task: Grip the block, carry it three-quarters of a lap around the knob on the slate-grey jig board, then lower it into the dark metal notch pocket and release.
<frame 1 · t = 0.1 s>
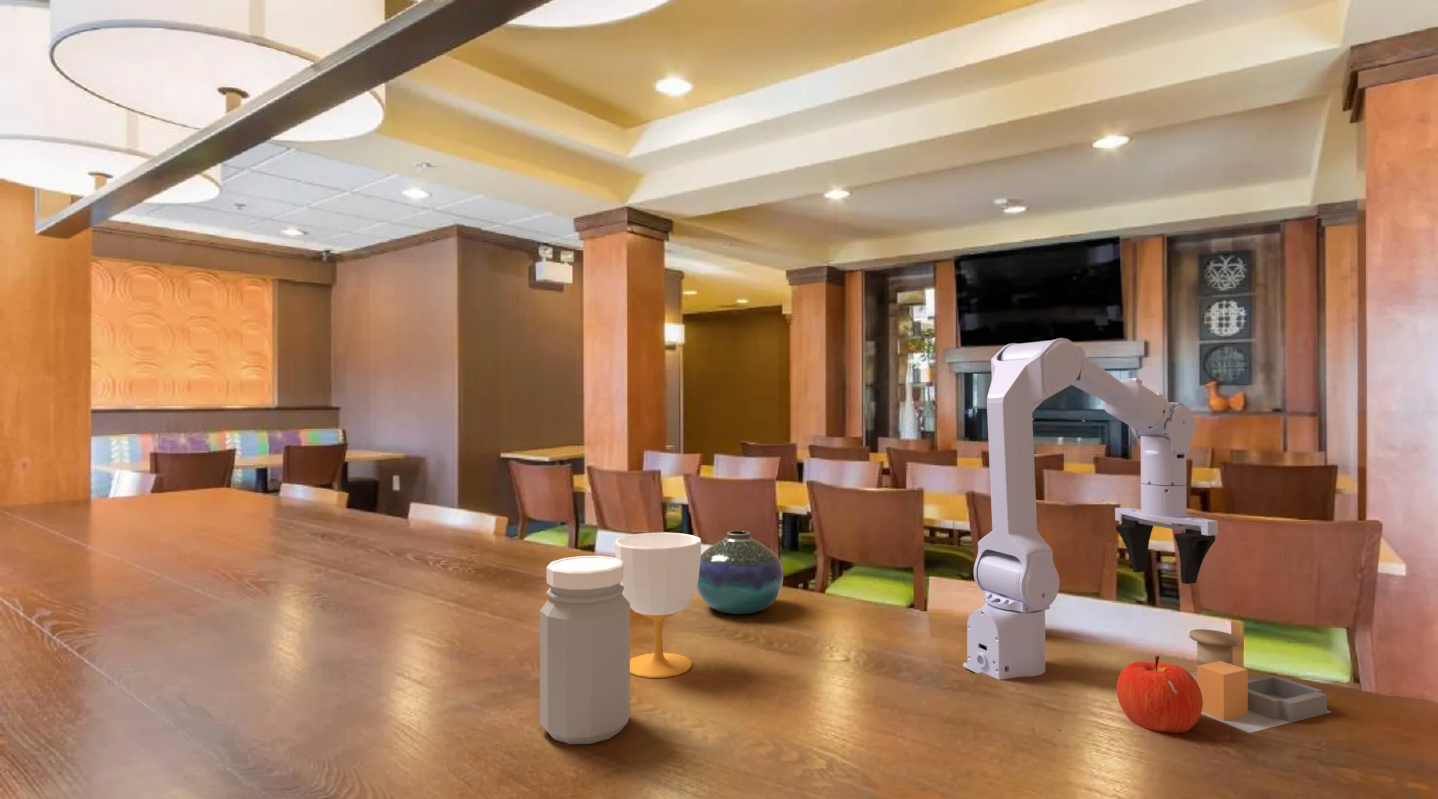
hand: (1163, 577, 107), 10 cm above the table, fingers open, 7 cm apart
knob: (1214, 692, 90), resting on jig
jar: (585, 729, 80), on the table
block: (1222, 712, 82), point 1 cm above the table, touching jig
apple: (1158, 730, 80), on the table
jig: (1226, 704, 86), on the table
cup: (658, 667, 99), on the table
vase: (738, 610, 126), on the table
beverage can: (1007, 632, 114), on the table
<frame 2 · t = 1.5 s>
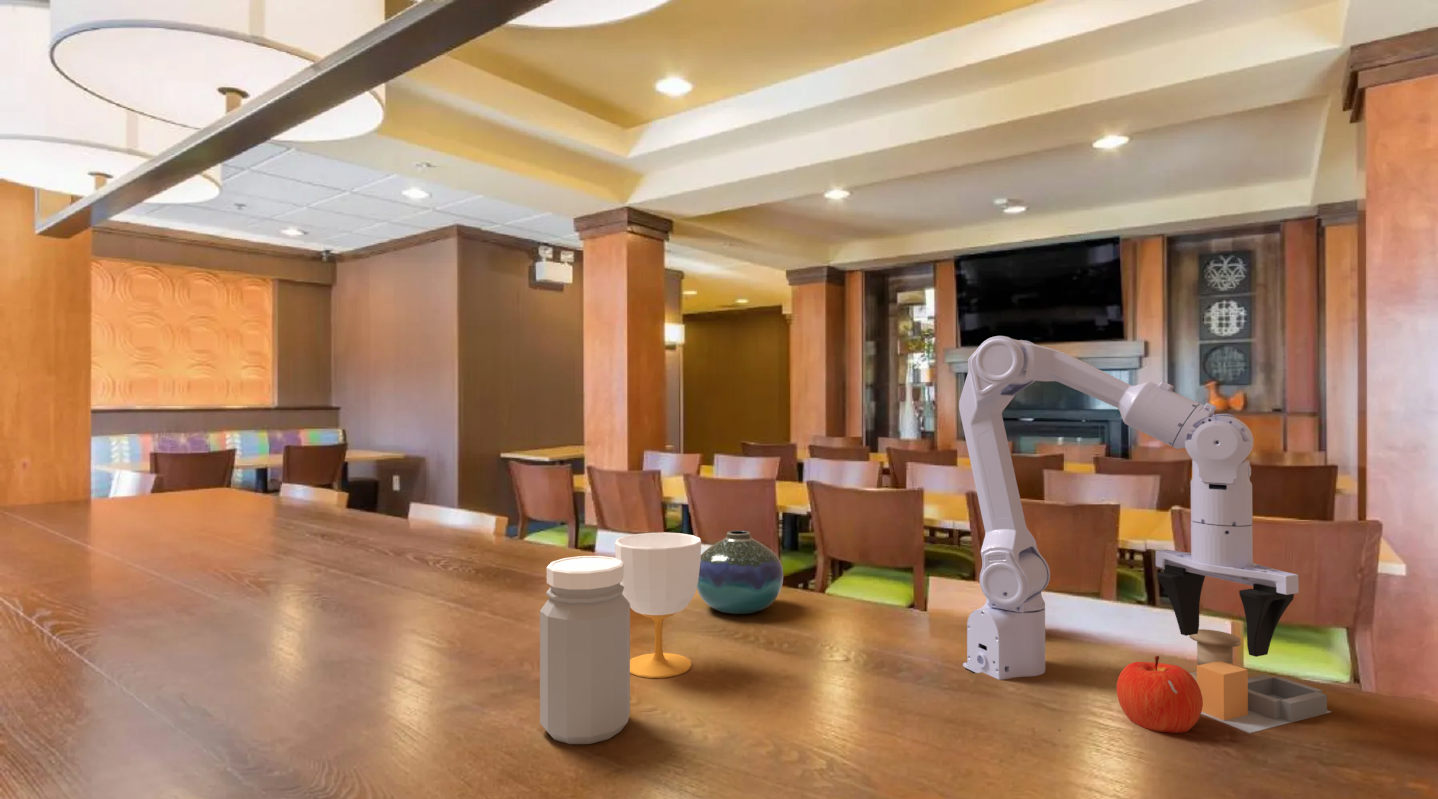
hand: (1222, 643, 82), 8 cm above the table, fingers open, 7 cm apart
nothing on the table moved.
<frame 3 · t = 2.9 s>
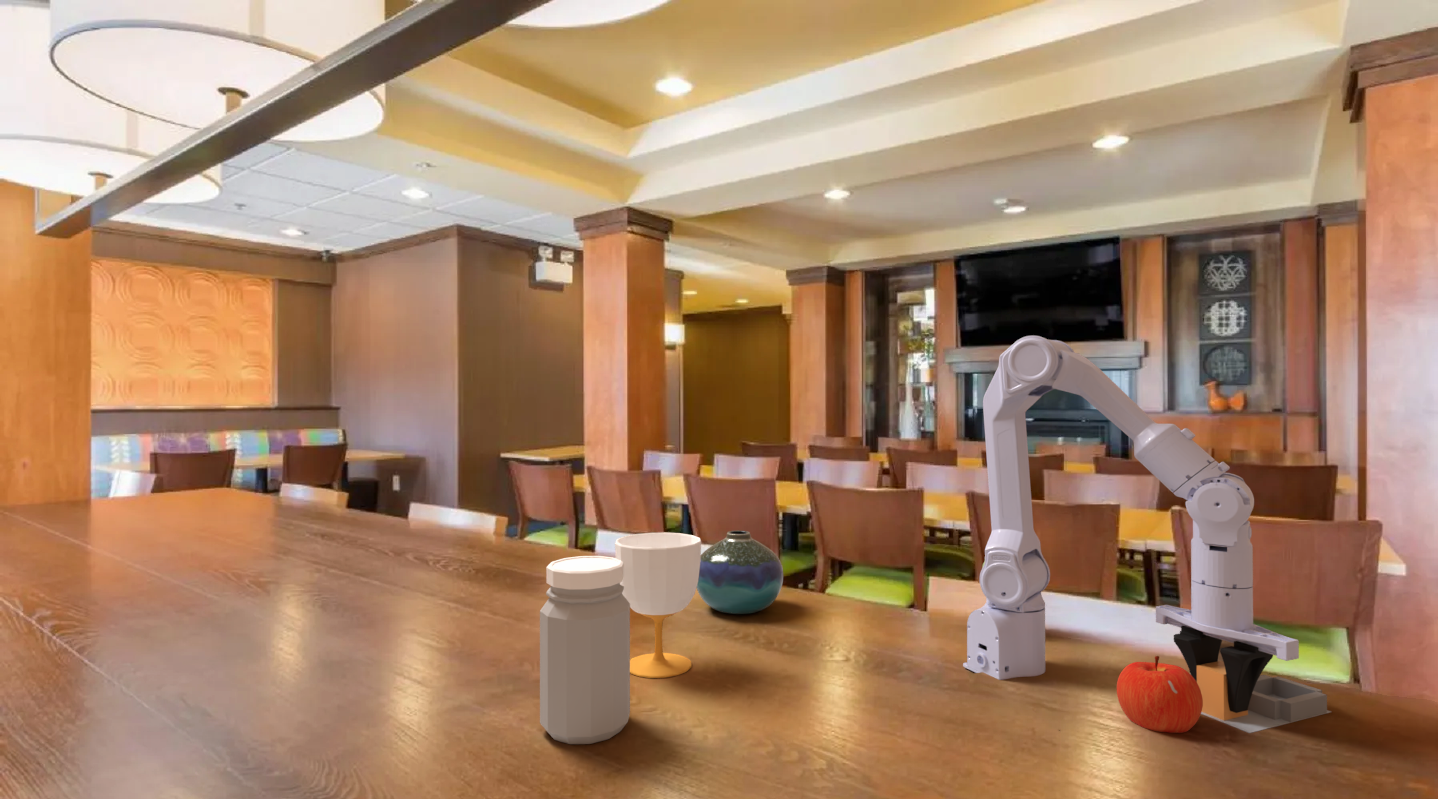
hand: (1222, 704, 82), 2 cm above the table, fingers closed on block, 3 cm apart
block: (1222, 712, 82), point 1 cm above the table, touching gripper, jig
everything else where it was.
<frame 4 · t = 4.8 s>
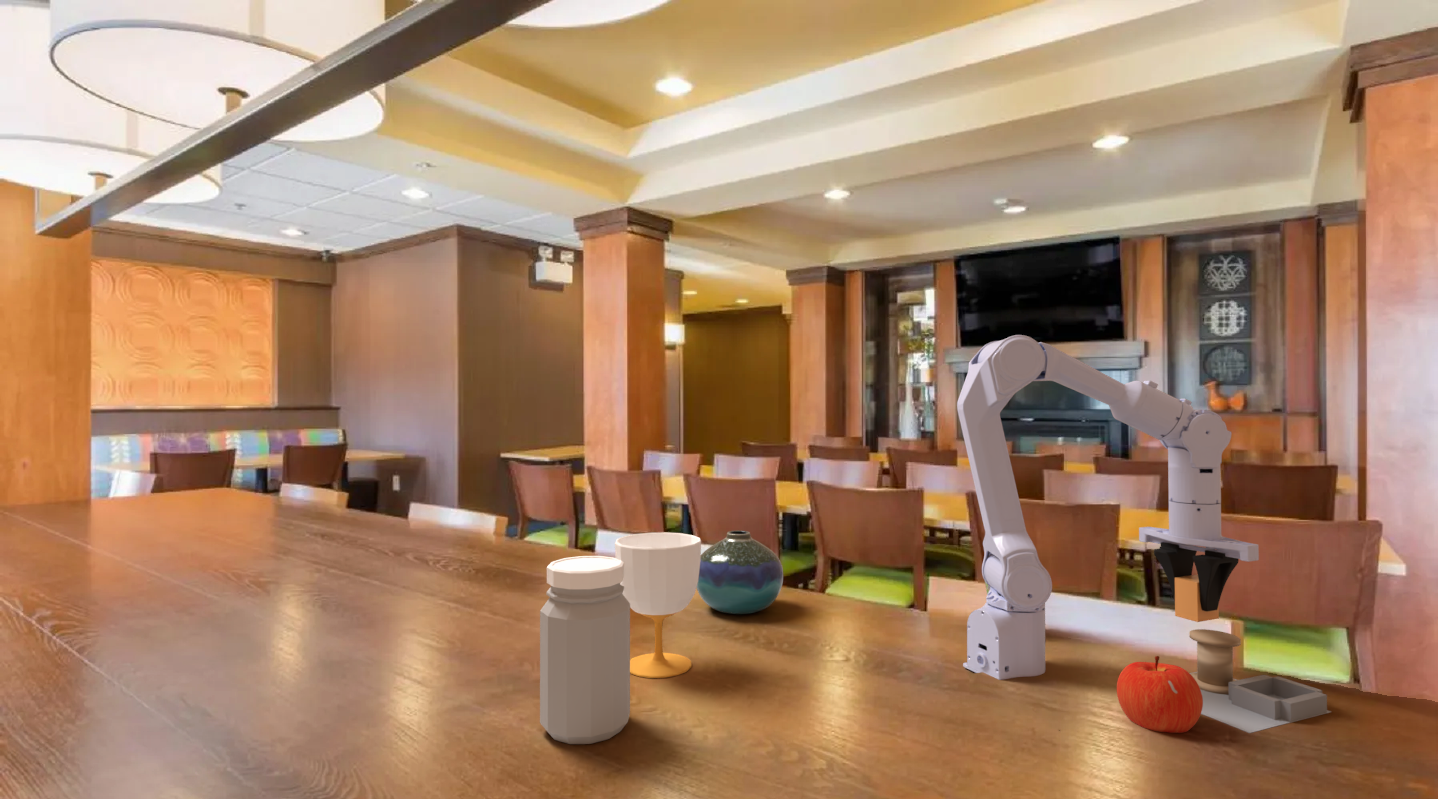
hand: (1195, 606, 95), 9 cm above the table, fingers closed on block, 3 cm apart
block: (1196, 617, 95), point 8 cm above the table, touching gripper
everything else where it was.
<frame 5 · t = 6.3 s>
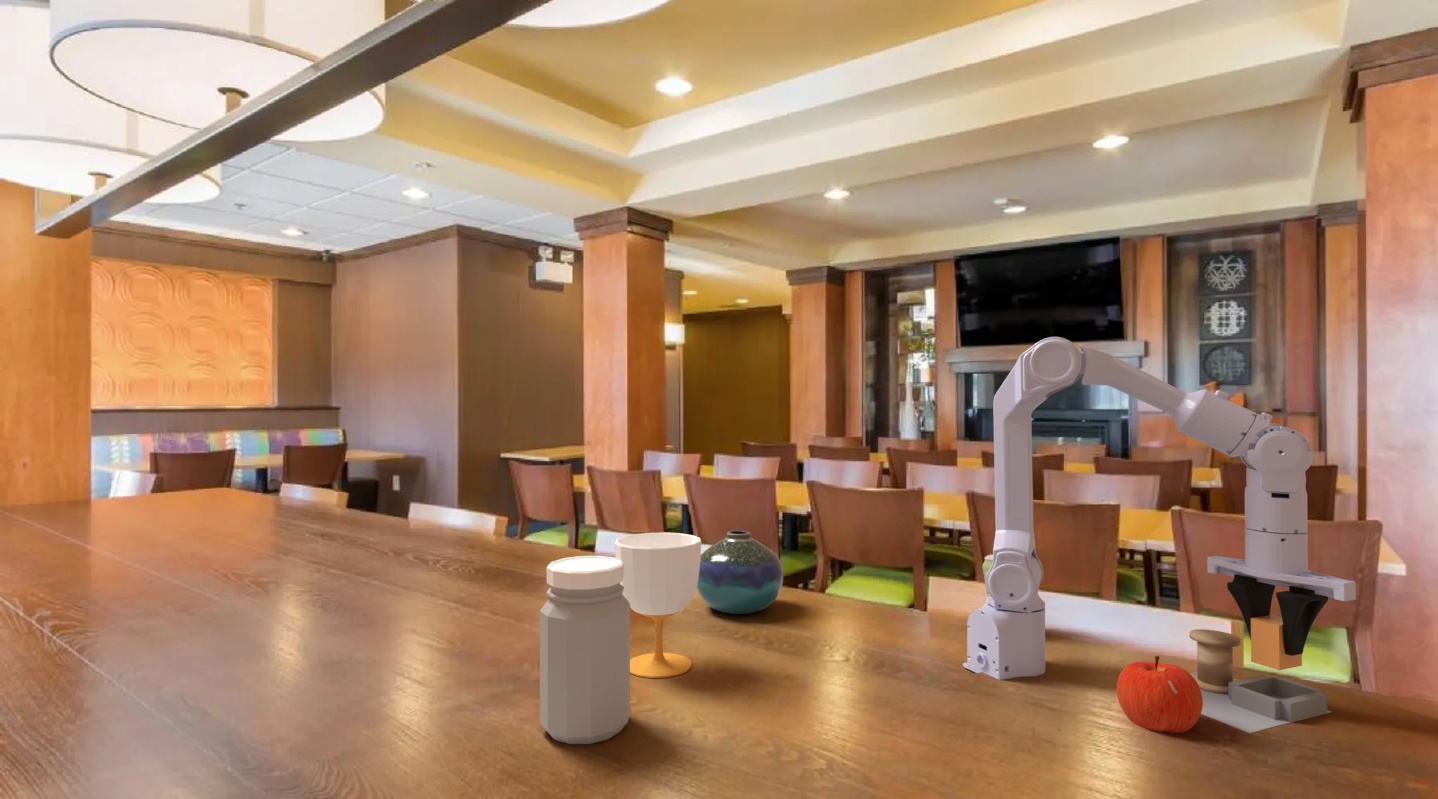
hand: (1276, 648, 84), 7 cm above the table, fingers closed on block, 3 cm apart
block: (1276, 663, 84), point 6 cm above the table, touching gripper
everything else where it was.
when the fingers open (4 cm above the table, at t = 7.2 s): block drops 1 cm, resting on jig.
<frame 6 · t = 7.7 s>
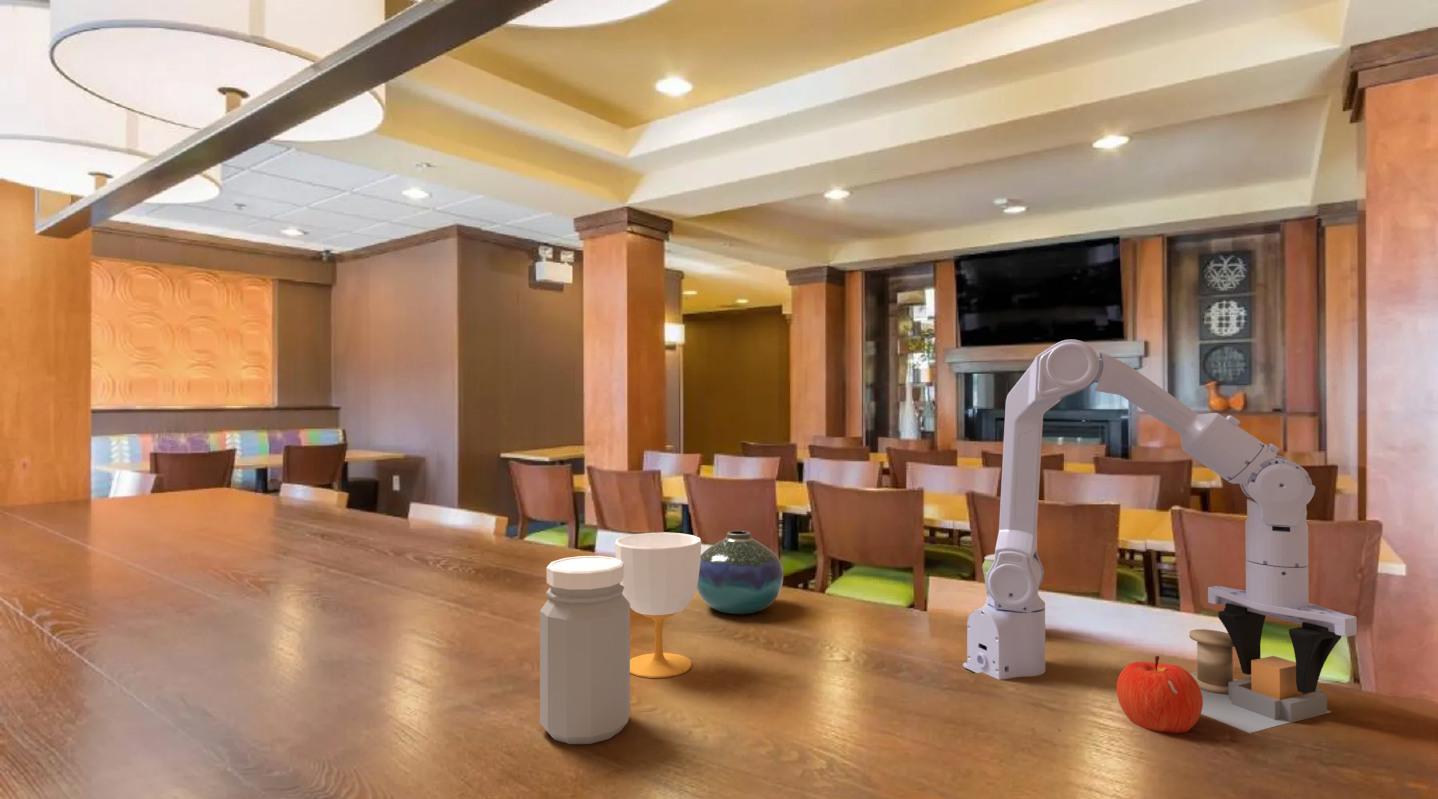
hand: (1277, 681, 83), 4 cm above the table, fingers open, 5 cm apart
block: (1276, 706, 83), point 1 cm above the table, touching jig
everything else where it was.
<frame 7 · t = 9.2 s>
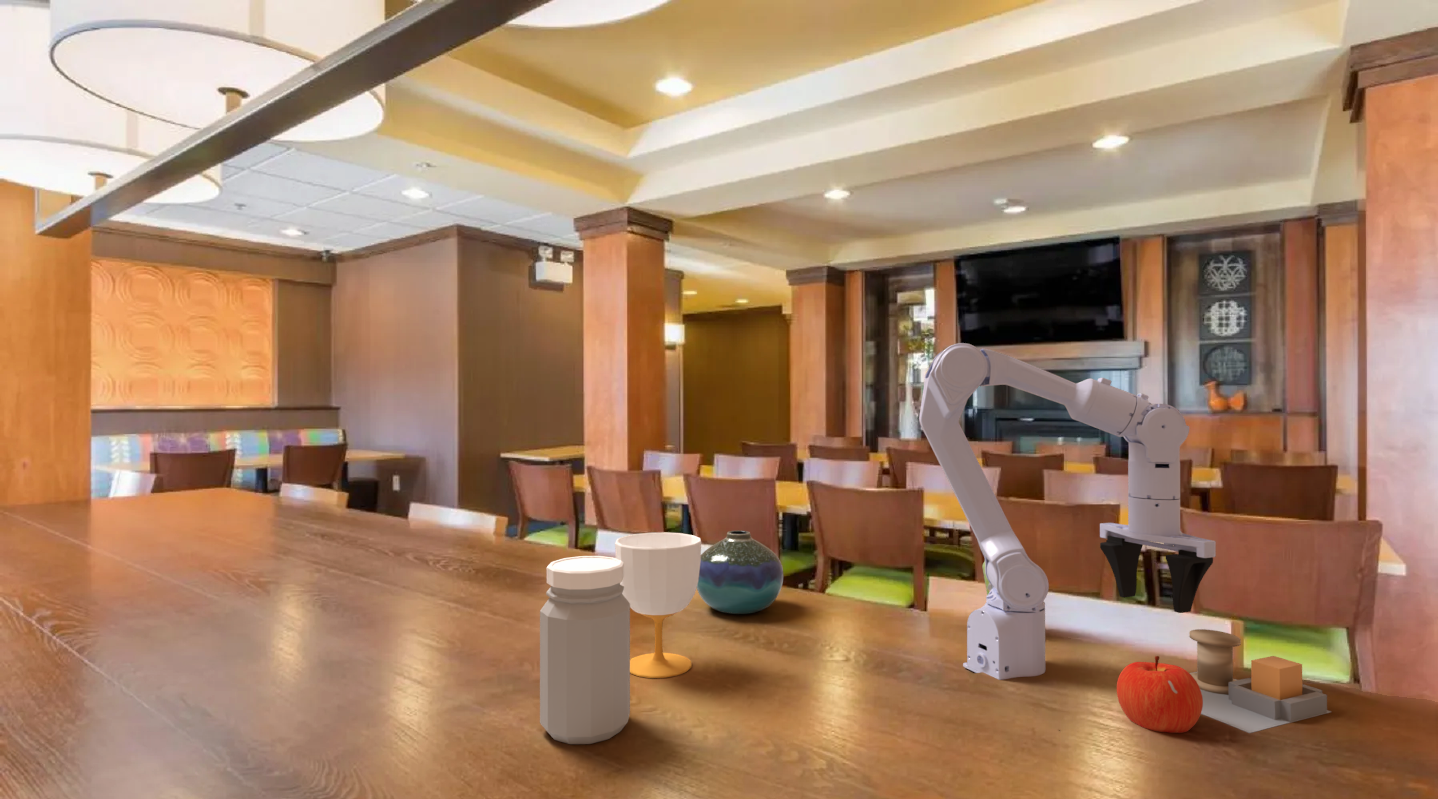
hand: (1153, 603, 93), 10 cm above the table, fingers open, 7 cm apart
nothing on the table moved.
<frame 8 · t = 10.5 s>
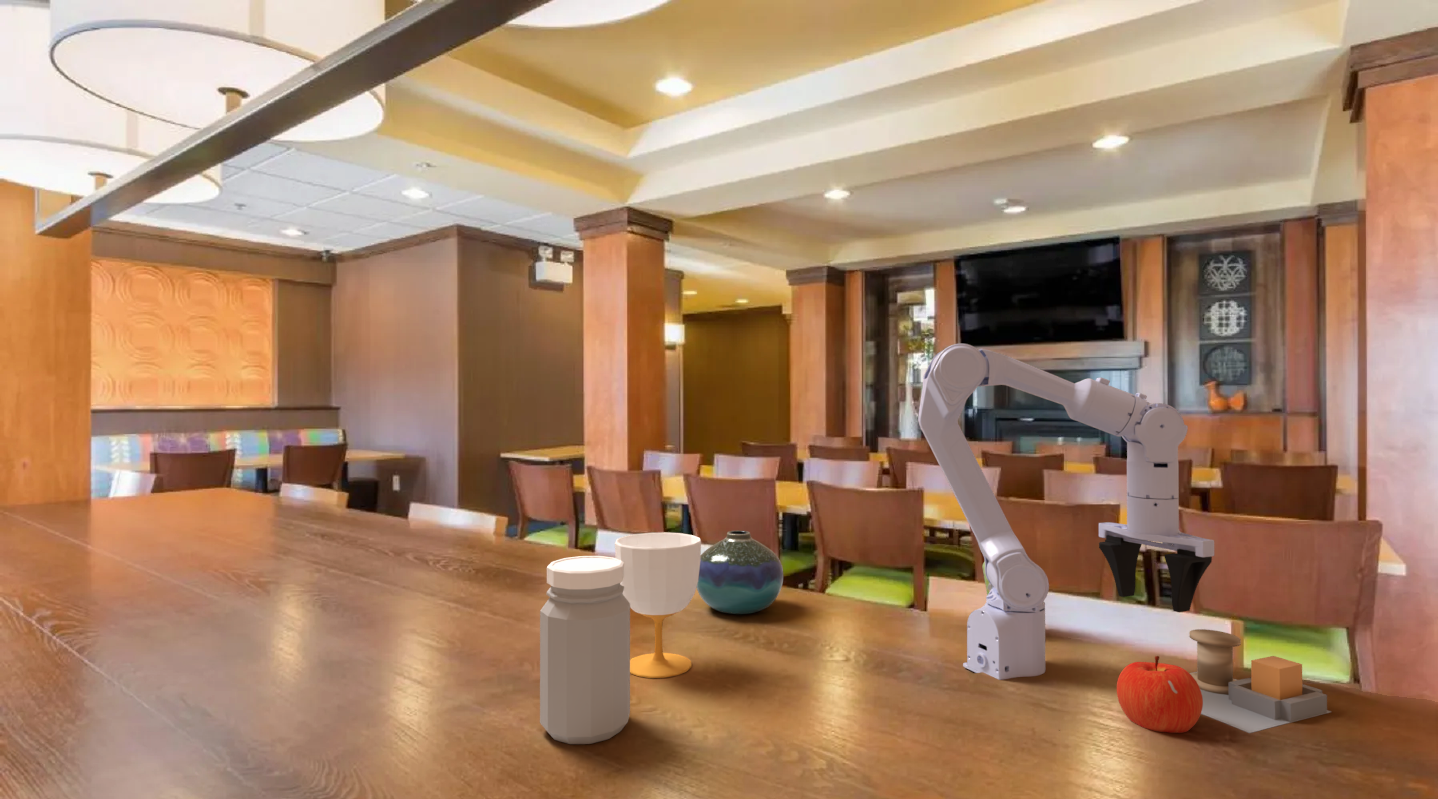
hand: (1152, 603, 93), 10 cm above the table, fingers open, 7 cm apart
nothing on the table moved.
at the end: block 0.0 cm from the target spot, point 0.8 cm above the table; the gripper is holding nothing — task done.
